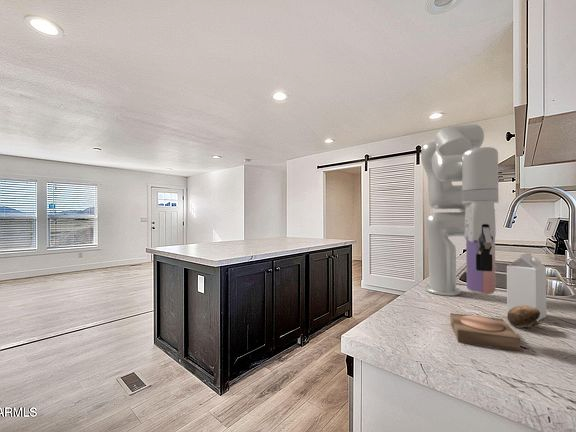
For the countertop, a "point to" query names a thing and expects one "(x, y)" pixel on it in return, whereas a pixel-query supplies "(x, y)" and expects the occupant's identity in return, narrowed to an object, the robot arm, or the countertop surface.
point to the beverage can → (479, 279)
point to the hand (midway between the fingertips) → (480, 267)
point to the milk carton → (527, 284)
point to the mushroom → (523, 316)
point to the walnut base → (484, 331)
